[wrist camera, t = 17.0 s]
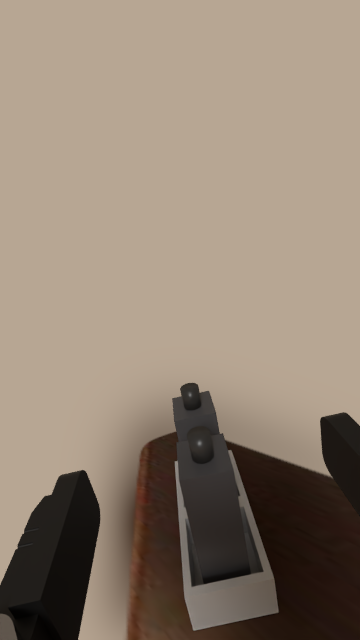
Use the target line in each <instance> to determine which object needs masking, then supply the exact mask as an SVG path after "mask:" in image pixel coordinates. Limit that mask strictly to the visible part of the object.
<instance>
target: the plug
mask: <svg viewBox="0 0 360 640" xmlns="http://www.w3.org/2000/svg"><path fill="white" fill-rule="evenodd" d="M187 439H188V440H187V441H182V442H177V458H178V472H179V482H180V487H181V491H182V495H183V499H184V503H185V508H186V512H187V516H188V520H189V524H190V529H191V533H192V537H193V541H194V545H195V550H196V554H197V558H198V562H199V566H200V571H201V575H202V579H203V583H204V584H208V583H213V582H218V581H222V580H227V579H232V578H236V577H241V576H246V575H251V571H250V565H249V559H248V553H247V547H246V541H245V535H244V529H243V523H242V517H241V511H240V505H239V499H238V493H237V487H236V481H235V475H234V469H233V466H232V462H231V459H230V456H229V452H228V449H227V446H226V442H225V439H224V436H223V434H217V435H212V436H211V434H210V430H209V429H208V428H207V427H204V426H197V427H194V428H192V429H190V430H189V431H188V433H187Z"/></svg>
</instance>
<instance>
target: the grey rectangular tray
mask: <svg viewBox="0 0 360 640" xmlns="http://www.w3.org/2000/svg"><path fill="white" fill-rule="evenodd" d="M228 452H229V456H230V459H231V462H232V466H233V469H234V475H235V481H236V487H237V493H238V499H239V505H240V511H241V517H242V523H243V529H244V535H245V541H246V547H247V553H248V559H249V565H250V571H251V575H246V576H241V577H236V578H232V579H227V580H222V581H218V582H213V583H208V584H204V583H203V579H202V575H201V571H200V566H199V562H198V558H197V554H196V550H195V545H194V541H193V537H192V533H191V529H190V524H189V520H188V516H187V512H186V508H185V503H184V499H183V495H182V491H181V487H180V482H179V472H178V461H176V462H175V471H176V485H177V499H178V513H179V527H180V541H181V555H182V569H183V583H184V597H185V601H186V605H187V609H188V612H189V616H190V620H191V623H192V627H193V631H195V630H200V629H204V628H209V627H214V626H218V625H223V624H228V623H232V622H237V621H242V620H246V619H251V618H256V617H260V616H265V615H270V614H274V613H279V611H278V603H277V596H276V588H275V581H274V577H273V574H272V571H271V568H270V565H269V562H268V559H267V556H266V553H265V550H264V547H263V544H262V541H261V538H260V535H259V532H258V529H257V526H256V523H255V520H254V517H253V514H252V511H251V508H250V505H249V502H248V499H247V496H246V493H245V489H244V486H243V483H242V480H241V477H240V474H239V471H238V468H237V465H236V462H235V459H234V456H233V453H232V450H229V451H228Z"/></svg>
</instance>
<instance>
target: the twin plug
mask: <svg viewBox="0 0 360 640" xmlns="http://www.w3.org/2000/svg"><path fill="white" fill-rule="evenodd" d="M180 390H181V395H182V397H177V398H173V399H172V400H173V411H174V422H175V426H176V431H177V435H178V440H179V442H182V441H187V440H188V439H187V433H188V431H189V430H190V429H192V428H194V427H197V426H204V427H207V428H208V429H209V430H210V434H211V436H212V435H217V434H220V433H219V428H218V422H217V417H216V412H215V408H214V405H213V402H212V399H211V396H210V393H209V391H206V392H202V393H199V388H198V385H197V384H195V383H188V384H185V385H183V386H182V387H181V388H180Z"/></svg>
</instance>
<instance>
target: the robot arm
mask: <svg viewBox="0 0 360 640" xmlns="http://www.w3.org/2000/svg"><path fill="white" fill-rule="evenodd" d="M320 425H321V440H322V454H323V458H324V462H325V464H326V467H327V469H328V471H329V472H330V474H331V476H332V477H333V478H334V480H335V481H336V483H337V484H338V486H339V487H340V489H341V490H342V491H343V493H344V494H345V496H346V497H347V499H348V500H349V501H350V503H351V504H352V506H353V507H354V509H355V510H356V511H357V513H358V514H359V516H360V426H359V425H358V424H357V423H356V422H355V421H354V420H353V419H352V418H351V417H350V416H349V415H348V414H347V413H339V414H335V415H330V416H326V417H322V418H321V420H320ZM99 526H100V508H99V504H98V501H97V498H96V496H95V493H94V491H93V488H92V485H91V483H90V480H89V478H88V476H87V473H86V472H85V471H84V470H81V471H77V472H72V473H68V474H64V475H61V476H59V478H58V480H57V482H56V485H55V488H54V490H53V493H52V495H49V496H45V497H44V498H43V499H42V500H41V502H40V503H39V504H38V505H37V507H36V508H35V509H34V511H33V512H32V513H31V516H30V518H29V520H28V523H27V525H26V527H25V530H24V534H22V536H21V539H20V541H19V543H18V549H16V550H15V553H14V555H13V557H12V560H11V562H10V564H9V566H8V569H7V571H6V573H5V576H4V578H3V580H2V582H1V585H0V640H78V636H79V631H80V626H81V620H82V615H83V610H84V605H85V599H86V594H87V589H88V584H89V578H90V574H91V568H92V563H93V558H94V552H95V547H96V541H97V537H98V531H99Z"/></svg>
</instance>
